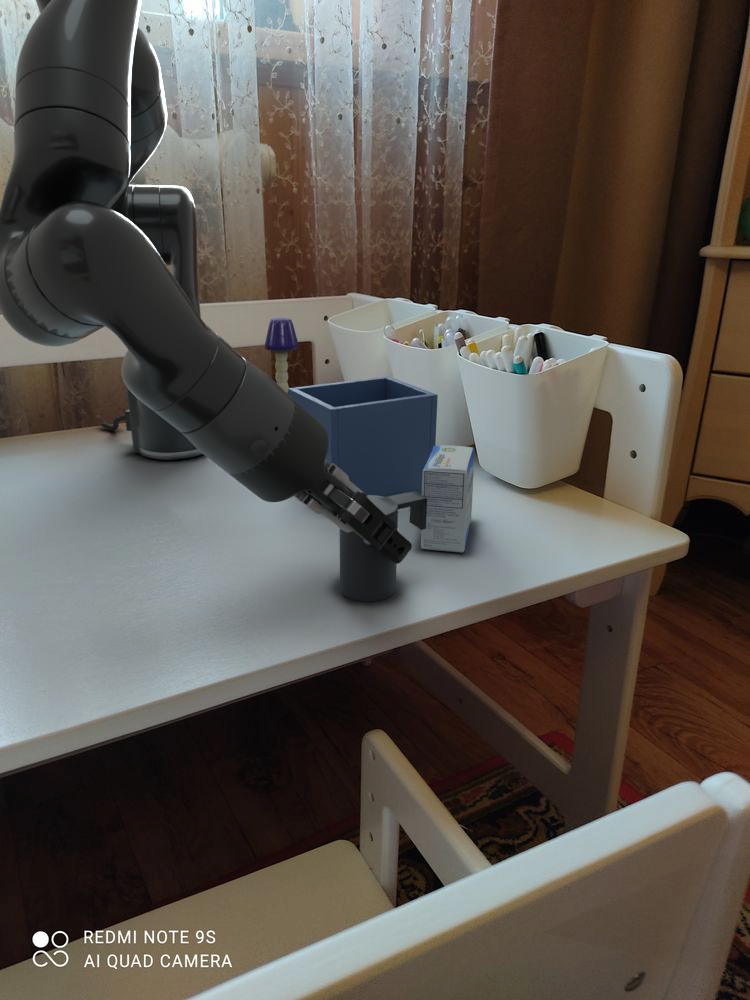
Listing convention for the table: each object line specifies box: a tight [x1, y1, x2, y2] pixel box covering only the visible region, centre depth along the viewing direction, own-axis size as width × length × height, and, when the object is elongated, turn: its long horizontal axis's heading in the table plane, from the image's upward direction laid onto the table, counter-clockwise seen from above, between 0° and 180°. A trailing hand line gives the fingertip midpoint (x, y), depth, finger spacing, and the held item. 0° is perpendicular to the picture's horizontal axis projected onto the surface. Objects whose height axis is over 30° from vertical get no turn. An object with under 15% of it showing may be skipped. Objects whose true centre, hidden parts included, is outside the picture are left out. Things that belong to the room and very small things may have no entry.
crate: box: [287, 375, 439, 497], centre depth 90 cm, size 14×11×12 cm
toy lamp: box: [264, 317, 299, 394], centre depth 108 cm, size 5×5×17 cm
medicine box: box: [420, 444, 476, 554], centre depth 78 cm, size 8×4×9 cm, turn 168°
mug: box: [339, 491, 427, 603], centre depth 68 cm, size 8×5×8 cm, turn 121°
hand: (385, 541), depth 68 cm, fingers closed on mug, 5 cm apart
